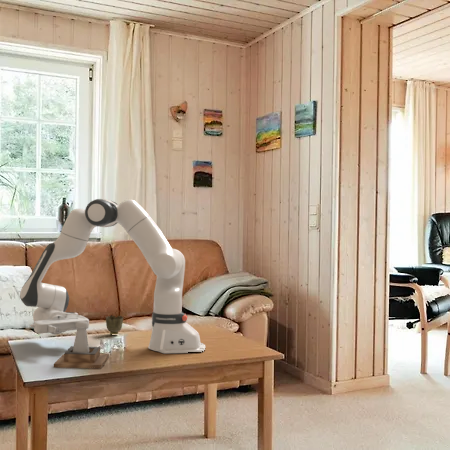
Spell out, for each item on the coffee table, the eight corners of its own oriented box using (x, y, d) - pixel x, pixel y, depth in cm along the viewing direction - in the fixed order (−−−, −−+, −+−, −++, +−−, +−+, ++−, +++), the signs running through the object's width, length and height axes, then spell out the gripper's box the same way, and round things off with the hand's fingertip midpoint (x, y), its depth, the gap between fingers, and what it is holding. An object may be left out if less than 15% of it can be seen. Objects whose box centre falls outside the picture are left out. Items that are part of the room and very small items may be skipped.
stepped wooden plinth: (108, 356, 214) (109, 345, 214) (101, 368, 198) (101, 356, 198) (64, 355, 213) (65, 344, 213) (53, 367, 197) (53, 354, 197)
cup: (124, 333, 255) (125, 315, 255) (120, 337, 248) (120, 318, 247) (108, 333, 256) (108, 314, 255) (102, 336, 248) (103, 317, 248)
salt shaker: (78, 361, 202) (79, 323, 202) (69, 358, 206) (69, 321, 205) (92, 358, 206) (93, 321, 206) (82, 355, 210) (83, 319, 210)
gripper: (28, 316, 220) (41, 322, 208) (80, 312, 232) (95, 317, 221) (28, 333, 220) (41, 340, 209) (79, 328, 232) (94, 334, 221)
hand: (69, 328), depth 215 cm, fingers open, 8 cm apart
